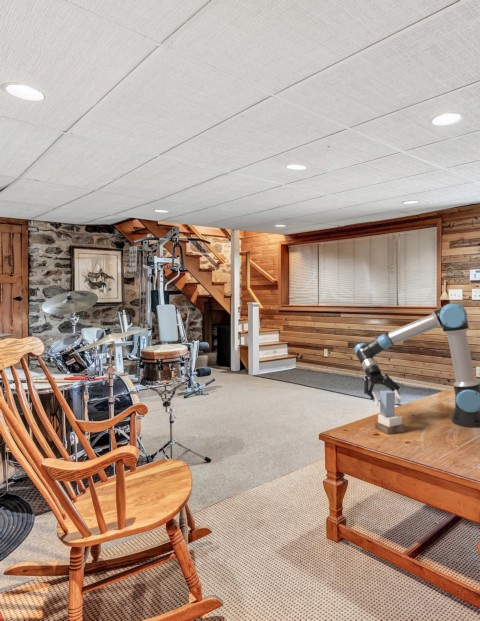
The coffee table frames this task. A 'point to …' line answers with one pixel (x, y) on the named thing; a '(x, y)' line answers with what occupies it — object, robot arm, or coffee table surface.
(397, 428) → the walnut tower slab
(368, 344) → the robot arm
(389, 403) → the slate-blue pillar
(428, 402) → the coffee table surface
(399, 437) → the coffee table surface
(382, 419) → the cream tower block
